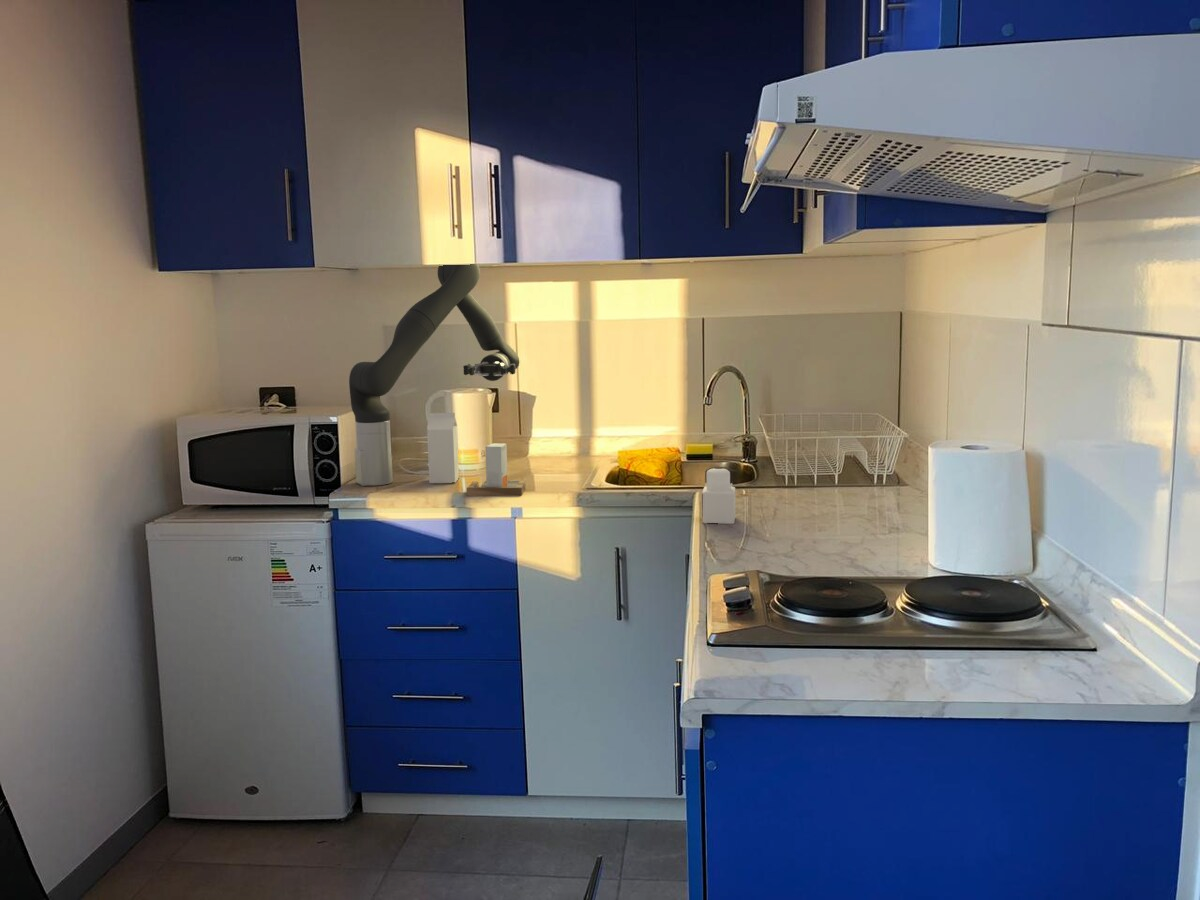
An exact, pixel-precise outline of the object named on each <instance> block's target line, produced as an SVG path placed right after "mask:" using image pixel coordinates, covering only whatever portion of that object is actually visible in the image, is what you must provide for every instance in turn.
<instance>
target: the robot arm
mask: <svg viewBox="0 0 1200 900" xmlns="http://www.w3.org/2000/svg"><path fill="white" fill-rule="evenodd" d="M477 264H478V263H477ZM477 264H470V265H443V266H439V265H438V267H437V278H438V281H439V283H440V284H441V286H439V288H438V289H436V290H435V291H433V292H431V293H430V294H428V295H427V296H425V297H424V298H422V299H420V300H419V301H417V302H416V303H414V305H412V306H411V307H410V308H409V309H408V310H407V311H406V313H405V314H404V315H403V316H402V317H401V319H400V320H399V321H398V323H397V324H396V327H395V330H394V333H393V338H392V342H391V344H390V345H389V347H388V349H387V350H385V352H384V353H383V354H382V356H380V357H379V358H378V359H377V360H376V361H359V362H357V363H356V364H354V365H353V367H352V368H351V370H350V372H349V379H348V382H349V386H348V387H349V396H350V405H351V410H352V412H353V415H354V421H355V441H356V443H355V444H356V448H354V458H355V459H354V461H355V479H356V480H355V481H356V483H357V484H358V485H360V486H361V487H363V486H366V487H367V486H383V485H387V484H391V483H393V476H394V474H393V461H392V456H393V455H392V439H391V438H392V437H391V421H390V419H391V418H390V417H391V416H390V415H391V414H390V411H389V409H388V408H387V407H385V406H384V404H383V403H382V401H381V397H383V396H385V395H387V394H388V393H389V392H390V391H391V390H392V389H393V387H394V386H395V384H396V382H397V381H398V380H399V378H400V376H401V375H402V373H403V371H404V370H405V369H406V367H407V366H408V364H409V363H410V362H411V360H413V358H414V357H415V356H416V355H417V354H418V353H419V351H420V350H421V348H422V347H423V345H425V343H426V342H427V341H428V340H429V339H430V338H431V336H432V335H434V333H435V331H436V330H437V329H438V328H439V326H440V325H441V324H442V322H444V320H446V318H447V317H448V316H449V314H450V313H451V311H453V309H455V307H457V309H458V310H459V311H460V313H461V314H462V316H463V317H464V318H465V320H466V322H467V324H468V325H469V327H470V329H471V330H472V333H473V335H474V336H475V338H476V340H477V343H478V344H479V346H480V349H482V350H483V351H484V352H485V351H486V352H491V351H492V352H493V351H496V352H493V353H490V354H488V355H486V356H484V357H483V358H482V359H481V361H480V362H477V363H474V365H472V364H471V363H468V364H465V365H463V366H462V367H463V375H465V376H467V375H469V376H478V377H481V376H482V377H483V378H484V379H485V380H487V381H490V382H495V381H498V380H500V379H502V378H503V377H504V376H506V375H515V374H516V369H518V368H519V366H520V357H519V356H518V354H517V352H516V351H515V350H514V348H512V347H511V345H510V344H508V343H507V341H506V340H505V339H504V337H503V336H502V334H501V333H500V330H499V328H498V327H497V324H496V323H495V321H494V319H493V317H492V316H491V315H490V313H489V312H488V311H487V310H486V309H485V308H484V307H483V306H482V305H481V304H480V303H479V302H478V301H477V300H476V299H475V297H474V296H473V295H472V293H471V291H473V290H474V289H475V287H476V286H477V284H478V282H479V279H480V276H481V270H480V265H479V264H478V265H477Z"/></svg>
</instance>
